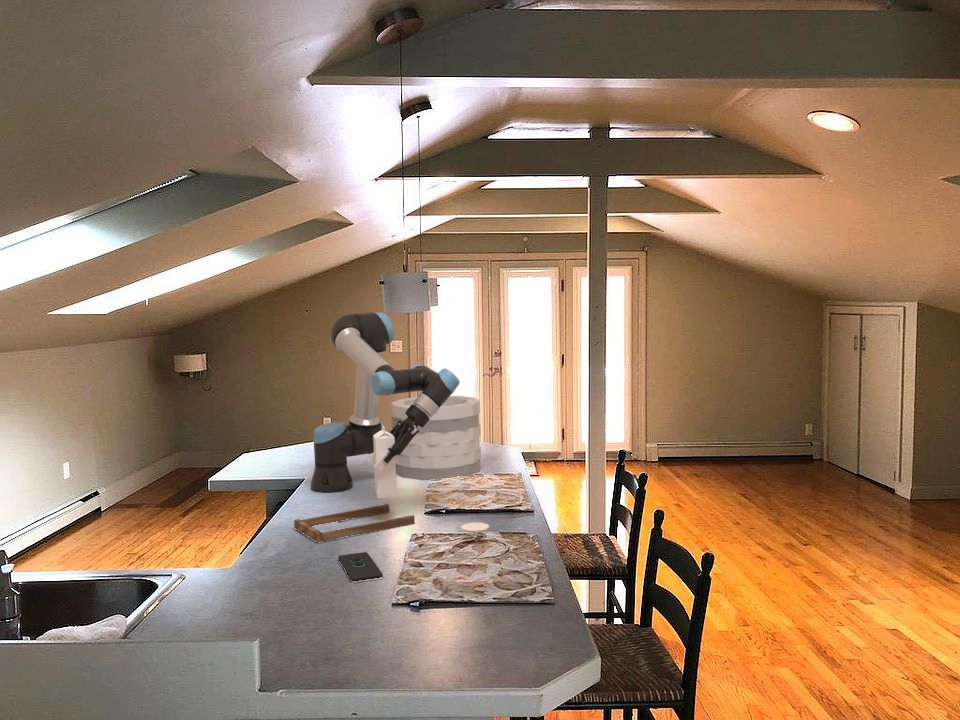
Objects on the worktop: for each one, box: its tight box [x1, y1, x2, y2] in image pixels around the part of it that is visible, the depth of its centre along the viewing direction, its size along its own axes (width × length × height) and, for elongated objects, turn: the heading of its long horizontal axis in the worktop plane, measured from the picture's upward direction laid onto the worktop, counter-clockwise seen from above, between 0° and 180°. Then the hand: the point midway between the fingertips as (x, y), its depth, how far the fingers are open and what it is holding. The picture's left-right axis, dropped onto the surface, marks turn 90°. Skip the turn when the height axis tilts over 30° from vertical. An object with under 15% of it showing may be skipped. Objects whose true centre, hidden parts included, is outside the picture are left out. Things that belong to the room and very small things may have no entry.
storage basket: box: [390, 395, 482, 481], centre depth 337 cm, size 35×35×27 cm
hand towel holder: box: [460, 522, 499, 539], centre depth 239 cm, size 17×4×21 cm
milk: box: [373, 424, 397, 499], centre depth 267 cm, size 6×6×22 cm
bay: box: [293, 503, 416, 542], centre depth 262 cm, size 18×32×3 cm, turn 124°
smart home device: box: [337, 551, 384, 581], centre depth 224 cm, size 8×2×20 cm
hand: (373, 466), depth 266 cm, fingers closed on milk, 7 cm apart
